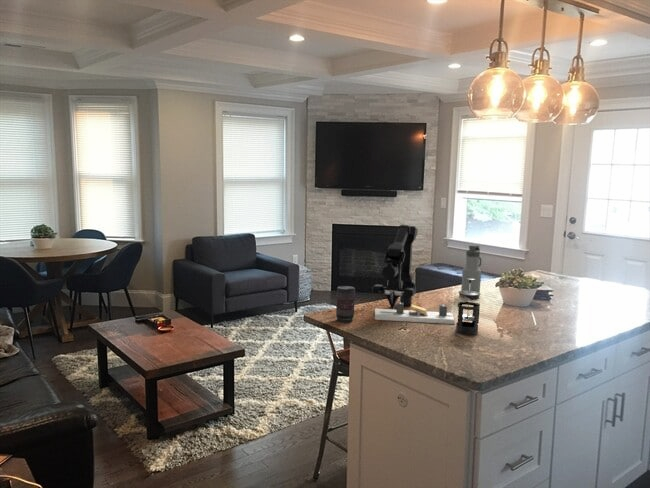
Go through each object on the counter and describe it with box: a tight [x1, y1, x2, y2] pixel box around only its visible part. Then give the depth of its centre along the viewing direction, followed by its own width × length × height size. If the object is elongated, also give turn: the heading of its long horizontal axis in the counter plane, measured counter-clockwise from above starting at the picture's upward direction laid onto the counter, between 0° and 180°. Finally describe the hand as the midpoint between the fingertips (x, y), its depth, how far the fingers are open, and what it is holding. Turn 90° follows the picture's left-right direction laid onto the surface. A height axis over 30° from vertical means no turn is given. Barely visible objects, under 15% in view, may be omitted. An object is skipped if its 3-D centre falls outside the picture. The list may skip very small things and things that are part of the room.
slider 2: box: [438, 304, 448, 316], centre depth 247 cm, size 3×3×4 cm
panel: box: [374, 308, 455, 325], centre depth 248 cm, size 12×35×4 cm, turn 84°
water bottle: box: [460, 244, 482, 299], centre depth 295 cm, size 10×10×28 cm
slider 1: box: [396, 301, 405, 313], centre depth 248 cm, size 3×3×4 cm
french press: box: [454, 278, 481, 336], centre depth 228 cm, size 12×9×23 cm
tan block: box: [409, 303, 427, 315], centre depth 248 cm, size 5×7×2 cm
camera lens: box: [335, 285, 356, 324], centre depth 240 cm, size 8×8×15 cm
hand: (392, 308), depth 249 cm, fingers closed
